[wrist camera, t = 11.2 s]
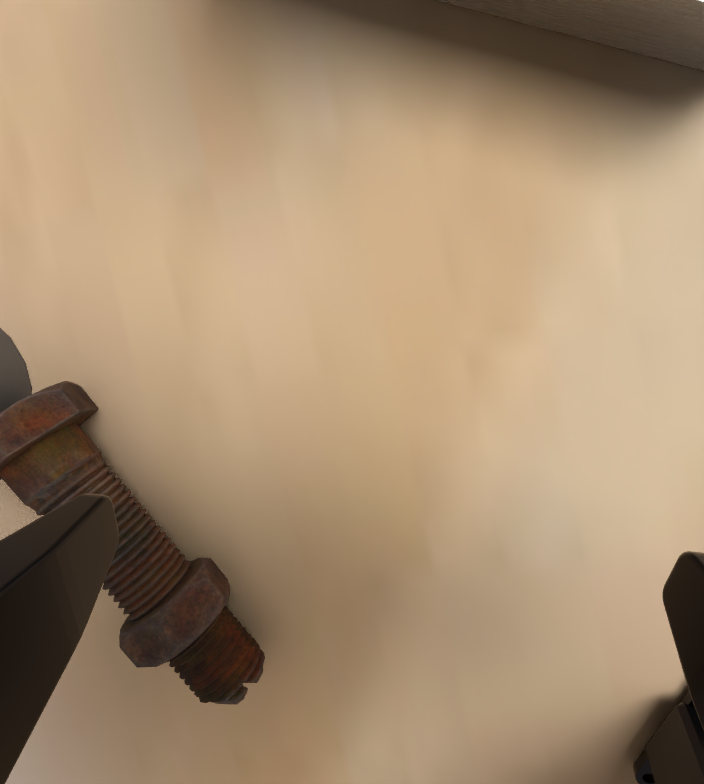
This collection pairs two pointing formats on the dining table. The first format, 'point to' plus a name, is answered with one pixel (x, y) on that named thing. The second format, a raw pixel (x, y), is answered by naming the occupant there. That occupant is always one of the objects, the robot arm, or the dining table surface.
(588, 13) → the jig
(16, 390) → the turned furniture leg
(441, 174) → the dining table surface
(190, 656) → the bolt
